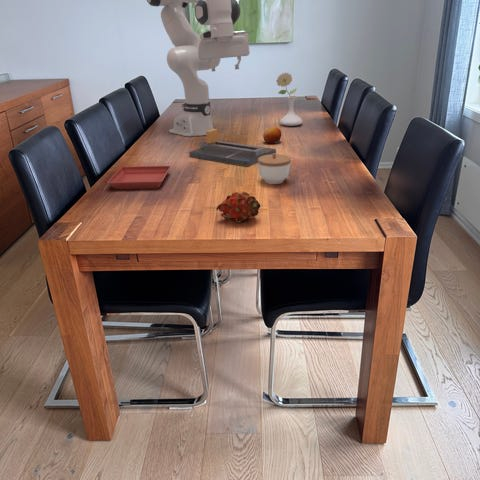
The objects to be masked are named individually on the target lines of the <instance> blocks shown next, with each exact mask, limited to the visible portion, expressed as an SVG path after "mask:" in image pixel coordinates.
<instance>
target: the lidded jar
mask: <svg viewBox="0 0 480 480" xmlns="http://www.w3.org/2000/svg"><path fill="white" fill-rule="evenodd" d="M291 161H292V159H291V157H290V156H289V155H286V154H285V155H284V154H279V153H278V154H277V152H276V153H273V154H270V155H264V156H261V157H259V158H258V162H257V164H258V173H259V175H260V177H261V178H262V179H263V180H264V182H265V183H267V184H269V185H278V184H282V183H284V181H285V180H286V179H287V177H288V176H289V174H290V171H291V170H290V169H291Z"/></svg>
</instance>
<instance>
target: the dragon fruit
mask: <svg viewBox="0 0 480 480" xmlns="http://www.w3.org/2000/svg"><path fill="white" fill-rule="evenodd" d="M260 208H261V204H260V202H259V201H258V200H257V199H256V198H255V197H254V195H250V193H247V192H246V191H242V192H241V193H239V192H232V193H231V195H227V196H226V197H225V199H224V200H223V201H222V202H221V203H220V204H218V205H217V207H216V211H218V210H219V212H220V213H221V212H222V213H221V214H220V216H221V217H222V218H224V219H226V220H227V219H231V220H232V219H233V220H232V221H235V222H236V223H237V224H238V223H240V222H242V221H244V222H247V221H250V219H251V218H255V217H257V216H258V215H259V213H260V212H259V210H260Z"/></svg>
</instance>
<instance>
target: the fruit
mask: <svg viewBox="0 0 480 480" xmlns="http://www.w3.org/2000/svg"><path fill="white" fill-rule="evenodd" d="M262 137H263V140H264V141H265V143H266V144H267V145H268V144H269V145H272V144H279V142H280V143H281V142H282V141H281V139H282V138H281V137H282V130H281V129H280V128H279V127H278V126H271V127H268V128H267V129H265V130H264V131H263V135H262Z"/></svg>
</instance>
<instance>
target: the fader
mask: <svg viewBox="0 0 480 480" xmlns="http://www.w3.org/2000/svg"><path fill="white" fill-rule="evenodd" d="M218 130H219V129H217V128H213V129H211V130H208V131H206V135H205V137H206V138H205V139H206V141H207V143H209V144H216V142H217V141H219V133H218V132H219V131H218ZM206 141H205V142H206Z"/></svg>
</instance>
